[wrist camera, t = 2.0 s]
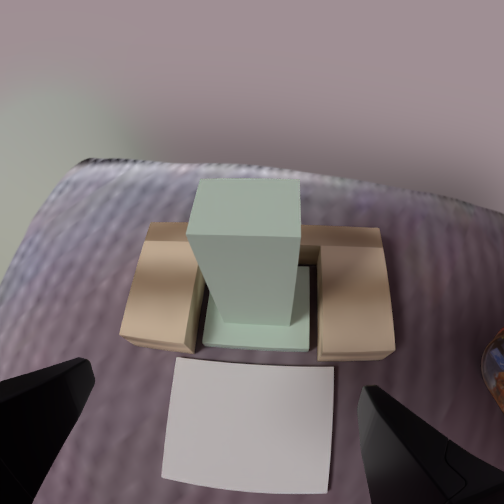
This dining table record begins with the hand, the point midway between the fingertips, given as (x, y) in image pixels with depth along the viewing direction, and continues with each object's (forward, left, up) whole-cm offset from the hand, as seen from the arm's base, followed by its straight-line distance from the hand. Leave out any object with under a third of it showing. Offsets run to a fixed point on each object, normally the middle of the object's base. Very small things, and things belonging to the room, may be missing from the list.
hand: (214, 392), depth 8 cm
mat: (-1, +1, -14) cm, 14 cm away
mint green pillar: (+2, -8, -14) cm, 16 cm away
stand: (+2, -8, -14) cm, 16 cm away
